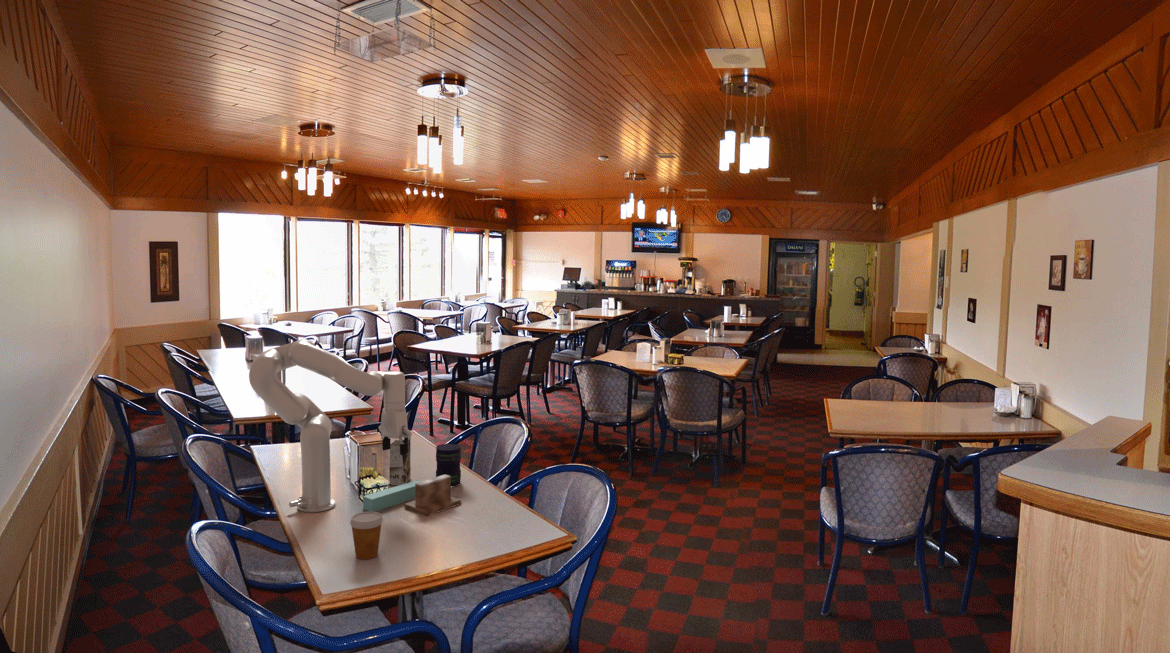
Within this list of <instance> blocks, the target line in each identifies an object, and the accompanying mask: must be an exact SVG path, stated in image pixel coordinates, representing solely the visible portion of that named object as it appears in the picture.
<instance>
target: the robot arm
mask: <svg viewBox="0 0 1170 653" xmlns="http://www.w3.org/2000/svg"><path fill="white" fill-rule="evenodd" d="M297 366H298V367H300V368H302V369H305V370H308V371H310V372H313V373H315V374H317V375H320V376H323V377H325V378H328V379H329V380H331V381H333V382H335V383H337V384H339V385H341V386H343V387H345V388H347V389H349V390H352V391H353V392H356V393H358V394H361V395H364V396H367V397H368V396H369V397H374V396H377V395H378V394H379V393H381V391H383V408H382V412H381V418H380V425H379V426H378V430H379V435H380V436H381V437H380V439H381V440H382V451H389V449H390V448H391V444H392V442H391V439H394V440H400V442H401V444H400V455H404V454H407V453H408V443H409V441H410V440H411V438H412V434H413V433H412V431H411V430H410V429H409V428H408V427H409V426H408V416H407V410H406V378H405V373H404V372H402V371H395V370H393V371H377V370H370V371H367V372H366V371H363V370H360V369H359V368H356V367H355V366H353V365H351V364H350V363H348V362H347V361H346V360H345V359H344V358H343V357H341V356H340V355H339V354H335V353H333V352H331V351H327V350H325V349H323V348H321V347H319V346H316V345H315V343H314V342H312V341H311V340H310V339H306V338H305V339H304V338H302V339H298V340H295V341H292V342H290V343H286V344H282V345H279V346H276V347H273V348H269V349H267V350H264V351H263V352H261V353H259V355H257V357H256V358H254V360H253V361H252V364H251V366H250V369H249V373H248V380H249V384H250V386H251V388H252V390H253V391H254V392H255V394H257V396H258V397H259V398H260V399H262V401H264V402H265V404H267V406H268V407H269V408H271V409H272V410H273V412H275V413H276V415H278V417H280V418H281V420H282V421H284V422H285V423H286V424H287V425H297V426H298V427H299V428H300V429H301V430H300V435H299V436H300V437H299V439H300V442H299V443H300V452H301V458H300V459H301V491H302V493H301V495H299V497H298V498H297V500H294V501H289V504H288V506H289V508H294V507H295V508H296V507H297V510H299V511H300V512H303V511H304V513H319V512H324V511H329V510H330V509H333V508H334V507H335V506H336V500H335V499H333V498H332V497H331V491H332V490H331V485H332V484H331V480H332V479H331V445H330V444H331V443H330V439H331V437H330V436H331V433H332V429H333V424H332V421H331V419H330V418H329V416H328V415H326V413H324V411H323V410H321V409H320V408H319V407H318V405H317V404H315V403H314V402H313V400H311V399H310V398H309V397H308V396H306V395H305V394H302V393H298V392H295V393H293V391H292V390H290V389H289V387H288V386H286V384H285V383H283V382H282V381H281V380H279V378H278V376H277V375H278V373H279V372H280V371H283V370H287V369H289V368H294V367H297ZM410 442H411V441H410Z"/></svg>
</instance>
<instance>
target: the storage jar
mask: <svg viewBox="0 0 1170 653" xmlns="http://www.w3.org/2000/svg"><path fill="white" fill-rule="evenodd" d="M461 448H462V446H461V445H460V444H456V443H442V444H438V445H437V446H436V447H435V450H436V451H435V461H436V470H435V477H438V476H441V475H445V474H446V475H449V476H451V486H455V487H457V486H456V485H458V484H460V485H461V483H462V482H461V478H462V474H461V473H462V469H461V460H462V449H461ZM460 482H461V483H460ZM458 486H459V485H458Z"/></svg>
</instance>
